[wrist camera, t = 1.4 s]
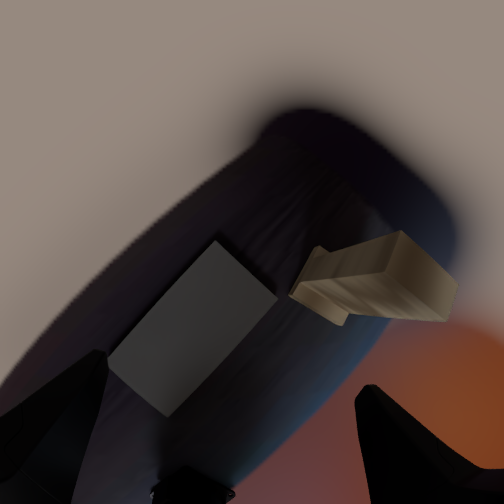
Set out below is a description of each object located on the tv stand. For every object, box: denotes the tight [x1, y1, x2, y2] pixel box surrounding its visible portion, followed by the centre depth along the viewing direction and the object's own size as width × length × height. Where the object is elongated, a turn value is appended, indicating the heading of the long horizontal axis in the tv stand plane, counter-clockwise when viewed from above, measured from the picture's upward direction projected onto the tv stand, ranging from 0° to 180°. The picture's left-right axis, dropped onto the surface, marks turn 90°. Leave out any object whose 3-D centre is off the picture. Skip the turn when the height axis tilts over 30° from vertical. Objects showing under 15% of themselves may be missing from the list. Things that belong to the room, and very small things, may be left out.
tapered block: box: [288, 231, 459, 326], centre depth 19 cm, size 6×5×13 cm
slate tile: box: [108, 241, 278, 418], centre depth 22 cm, size 7×14×1 cm, turn 138°
